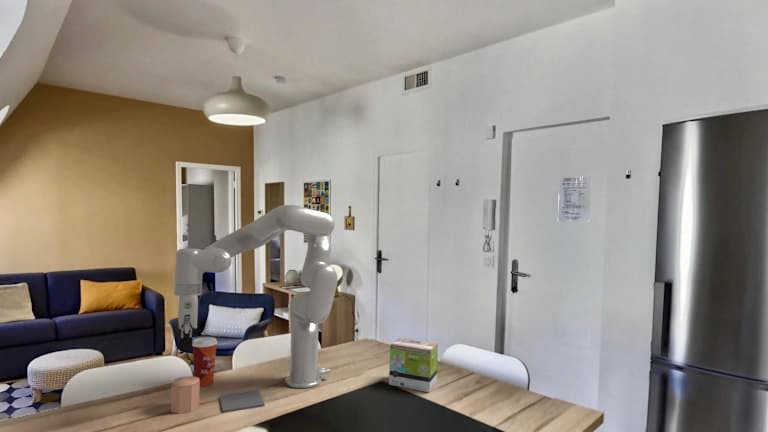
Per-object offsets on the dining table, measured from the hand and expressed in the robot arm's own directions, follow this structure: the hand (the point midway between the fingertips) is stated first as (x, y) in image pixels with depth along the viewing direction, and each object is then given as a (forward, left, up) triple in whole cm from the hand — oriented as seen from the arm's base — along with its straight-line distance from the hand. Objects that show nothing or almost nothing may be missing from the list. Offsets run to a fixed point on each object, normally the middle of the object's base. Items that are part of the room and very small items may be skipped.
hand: (185, 346), depth 127 cm
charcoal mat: (-16, +2, -18) cm, 25 cm away
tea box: (-73, +10, -19) cm, 76 cm away
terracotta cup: (0, 0, -18) cm, 18 cm away
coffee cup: (-6, -19, -19) cm, 27 cm away
